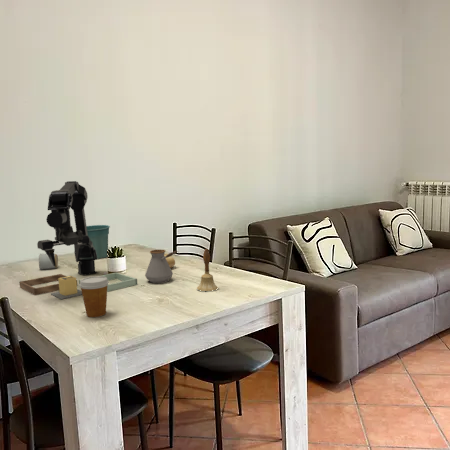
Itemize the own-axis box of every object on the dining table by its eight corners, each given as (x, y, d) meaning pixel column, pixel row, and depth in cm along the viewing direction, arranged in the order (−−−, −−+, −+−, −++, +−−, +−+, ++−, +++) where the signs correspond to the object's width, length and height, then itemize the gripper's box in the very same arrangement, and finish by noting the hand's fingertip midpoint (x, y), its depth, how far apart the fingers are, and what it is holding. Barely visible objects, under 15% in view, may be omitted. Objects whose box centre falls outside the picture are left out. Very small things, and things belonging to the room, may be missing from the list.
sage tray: (117, 278, 213) (116, 272, 213) (137, 284, 201) (137, 278, 200) (79, 286, 202) (78, 280, 201) (97, 293, 189) (97, 287, 189)
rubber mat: (75, 289, 197) (75, 288, 197) (86, 293, 190) (86, 292, 189) (50, 294, 190) (50, 293, 190) (61, 299, 183) (61, 298, 183)
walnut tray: (61, 279, 214) (60, 273, 214) (77, 286, 202) (77, 280, 201) (19, 287, 202) (19, 281, 202) (34, 295, 190) (34, 289, 190)
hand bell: (221, 286, 193) (219, 247, 191) (213, 292, 185) (212, 251, 183) (201, 285, 196) (199, 246, 194) (193, 291, 188) (191, 250, 186)
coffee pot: (140, 280, 207) (138, 246, 205) (164, 276, 213) (162, 242, 211) (166, 291, 190) (164, 253, 188) (191, 285, 197) (189, 248, 194)
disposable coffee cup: (84, 310, 169) (82, 276, 167) (112, 309, 169) (110, 275, 168) (78, 319, 159) (76, 283, 158) (108, 318, 160) (106, 282, 158)
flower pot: (94, 261, 249) (92, 230, 246) (73, 258, 258) (71, 228, 255) (118, 255, 262) (116, 225, 260) (97, 253, 271) (95, 224, 269)
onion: (176, 266, 232) (176, 251, 231) (173, 270, 224) (172, 255, 223) (160, 266, 233) (159, 252, 232) (156, 270, 225) (155, 255, 224)
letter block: (71, 290, 193) (70, 275, 193) (77, 293, 190) (76, 277, 189) (59, 293, 190) (58, 277, 189) (65, 295, 186) (63, 280, 186)
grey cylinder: (57, 269, 234) (55, 253, 233) (39, 271, 232) (37, 255, 231) (59, 265, 244) (58, 250, 243) (42, 266, 242) (40, 251, 241)
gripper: (46, 228, 174) (50, 271, 176) (95, 222, 186) (98, 262, 189) (35, 226, 182) (38, 267, 185) (82, 220, 195) (85, 258, 197)
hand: (66, 264), depth 189 cm, fingers open, 9 cm apart
